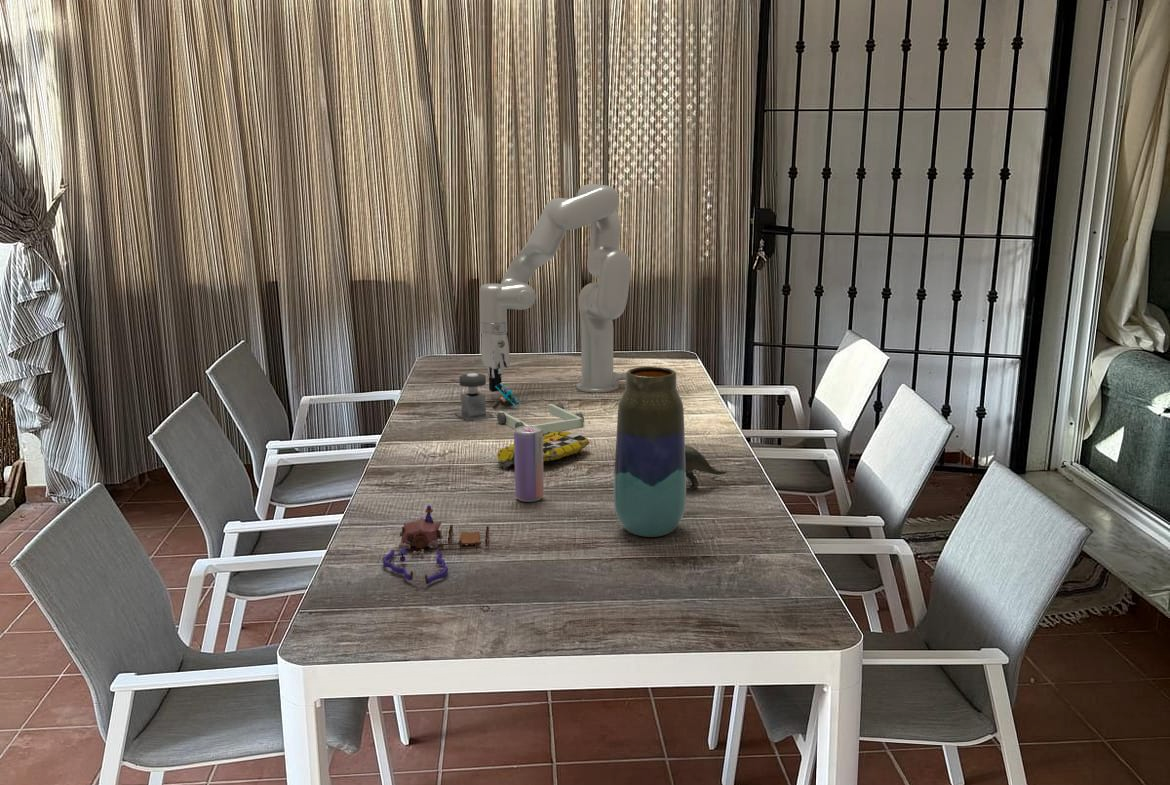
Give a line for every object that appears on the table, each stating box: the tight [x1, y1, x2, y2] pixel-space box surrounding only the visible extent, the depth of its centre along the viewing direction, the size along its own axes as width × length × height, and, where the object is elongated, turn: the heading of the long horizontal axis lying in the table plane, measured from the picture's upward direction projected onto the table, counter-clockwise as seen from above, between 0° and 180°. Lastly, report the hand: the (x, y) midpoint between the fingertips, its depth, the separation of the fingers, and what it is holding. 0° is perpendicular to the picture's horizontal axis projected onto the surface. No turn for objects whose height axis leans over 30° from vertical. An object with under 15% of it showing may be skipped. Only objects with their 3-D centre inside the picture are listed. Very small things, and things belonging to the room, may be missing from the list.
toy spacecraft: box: [496, 431, 591, 470], centre depth 245 cm, size 17×23×5 cm
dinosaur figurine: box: [685, 444, 728, 490], centre depth 222 cm, size 22×8×11 cm, turn 71°
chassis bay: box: [496, 403, 585, 434], centre depth 274 cm, size 19×18×3 cm
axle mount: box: [454, 391, 494, 422], centre depth 282 cm, size 8×8×6 cm
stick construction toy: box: [492, 383, 520, 410], centre depth 291 cm, size 12×7×8 cm
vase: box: [613, 366, 687, 538], centre depth 196 cm, size 14×14×31 cm
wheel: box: [459, 372, 487, 394], centre depth 281 cm, size 7×7×5 cm
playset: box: [382, 504, 490, 586], centre depth 188 cm, size 25×19×7 cm
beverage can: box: [513, 426, 545, 503], centre depth 216 cm, size 6×6×15 cm
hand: (495, 390), depth 298 cm, fingers closed
